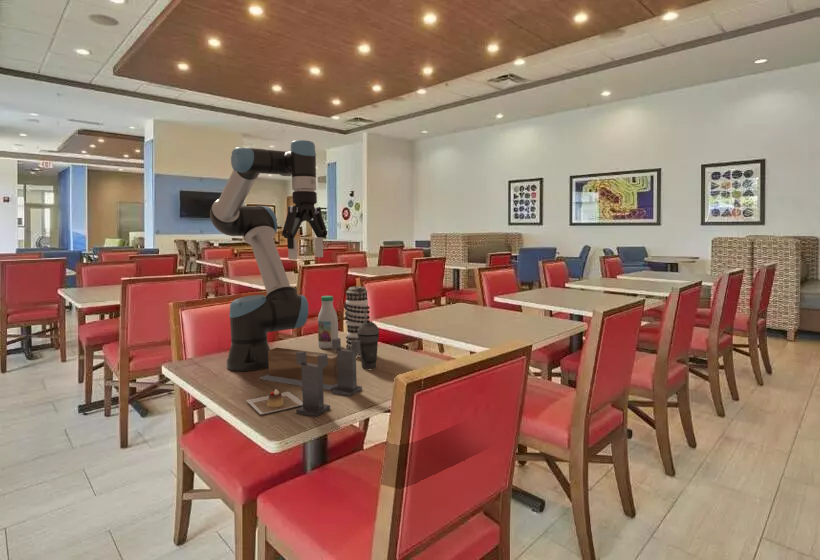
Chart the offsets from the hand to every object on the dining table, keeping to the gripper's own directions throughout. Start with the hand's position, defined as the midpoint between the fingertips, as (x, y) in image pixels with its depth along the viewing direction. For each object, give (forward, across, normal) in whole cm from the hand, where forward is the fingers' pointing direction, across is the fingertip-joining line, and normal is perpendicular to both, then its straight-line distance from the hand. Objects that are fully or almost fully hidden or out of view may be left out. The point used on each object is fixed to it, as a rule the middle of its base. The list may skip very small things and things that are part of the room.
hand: (306, 258), depth 155 cm
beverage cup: (+37, +9, -17) cm, 42 cm away
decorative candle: (+37, +22, -5) cm, 43 cm away
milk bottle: (+37, +28, +12) cm, 48 cm away
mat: (+37, -10, -5) cm, 38 cm away
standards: (+37, -22, -23) cm, 48 cm away
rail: (+36, -10, -5) cm, 38 cm away
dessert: (+38, -30, -11) cm, 49 cm away
